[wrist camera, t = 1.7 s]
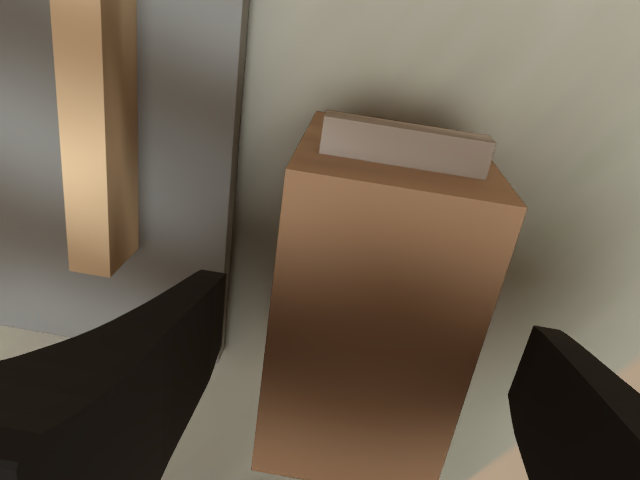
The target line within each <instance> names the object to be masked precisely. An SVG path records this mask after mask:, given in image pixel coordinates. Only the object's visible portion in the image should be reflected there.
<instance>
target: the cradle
mask: <svg viewBox="0 0 640 480" xmlns="http://www.w3.org/2000/svg"><path fill="white" fill-rule="evenodd" d="M248 13H249V0H0V325H2V326H7V327H13V328H19V329H25V330H31V331H36V332H42V333H48V334H54V335H60V336H65V337H71V338H73V337H75V336H78V335H80V334H82V333H85V332H87V331H90V330H92V329H94V328H97V327H99V326H101V325H103V324H105V323H108V322H110V321H112V320H114V319H116V318H118V317H119V316H121V315H123V314H125V313H127V312H129V311H131V310H133V309H135V308H137V307H138V306H140V305H142V304H144V303H146V302H148V301H149V300H151V299H153V298H154V297H156V296H158V295H159V294H161V293H163V292H165V291H166V290H168V289H170V288H171V287H173V286H174V285H176V284H178V283H179V282H181V281H182V280H184V279H186V278H187V277H189V276H191V275H192V274H194V273H195V272H197V271H199V270H201V269H203V270H209V271H215V272H221V273H226V274H227V276H226V290H225V304H224V319H223V333H222V345H221V348H220V351H219V354H218V357H217V360H216V363H218V361H219V359H220V357H221V354H222V352H223V350H224V339H225V326H226V312H227V298H228V285H229V271H230V258H231V244H232V230H233V217H234V203H235V190H236V176H237V162H238V149H239V135H240V122H241V108H242V94H243V81H244V67H245V54H246V40H247V26H248Z"/></svg>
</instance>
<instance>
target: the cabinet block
mask: <svg viewBox="0 0 640 480" xmlns="http://www.w3.org/2000/svg"><path fill="white" fill-rule="evenodd" d="M495 146H496V143H495V141H494V140H493V139H492V138H491V137H490V136H488V135H482V134H476V133H469V132H463V131H457V130H450V129H444V128H438V127H431V126H425V125H419V124H412V123H406V122H400V121H393V120H387V119H381V118H375V117H368V116H362V115H356V114H349V113H343V112H337V111H330V110H327V111H326V113H325V112H319V111H316V113H315V115H314V117H313V119H312V121H311V122H310V124H309V126H308V128H307V130H306V132H305V134H304V136H303V137H302V139H301V141H300V143H299V145H298V147H297V149H296V150H295V152H294V154H293V156H292V158H291V160H290V162H289V164H288V165H287V167H286V170H285V179H284V188H283V197H282V205H281V214H280V223H279V232H278V240H277V249H276V258H275V267H274V275H273V284H272V293H271V301H270V310H269V319H268V328H267V336H266V345H265V354H264V363H263V371H262V380H261V389H260V398H259V406H258V415H257V424H256V432H255V441H254V450H253V459H252V467H251V470H253V471H259V472H264V473H270V474H275V475H281V476H287V477H292V478H298V479H303V480H439V477H440V474H441V471H442V468H443V465H444V462H445V459H446V456H447V453H448V449H449V446H450V443H451V440H452V437H453V434H454V431H455V428H456V425H457V422H458V419H459V416H460V413H461V410H462V407H463V404H464V401H465V397H466V394H467V391H468V388H469V385H470V382H471V379H472V376H473V373H474V370H475V367H476V364H477V361H478V358H479V355H480V352H481V349H482V345H483V342H484V339H485V336H486V333H487V330H488V327H489V324H490V321H491V318H492V315H493V312H494V309H495V306H496V303H497V300H498V297H499V294H500V290H501V287H502V284H503V281H504V278H505V275H506V272H507V269H508V266H509V263H510V260H511V257H512V254H513V251H514V248H515V245H516V242H517V238H518V235H519V232H520V229H521V226H522V223H523V220H524V217H525V214H526V211H527V207H526V205H525V204H524V203H523V201H522V200H521V199H520V197H519V196H518V195H517V193H516V192H515V191H514V189H513V188H512V187H511V185H510V184H509V183H508V181H507V180H506V179H505V177H504V176H503V175H502V173H501V172H500V171H499V170H498V168H497V167H496V166H495V164H494V163H493V162H492V157H493V153H494V150H495Z"/></svg>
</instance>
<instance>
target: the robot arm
mask: <svg viewBox="0 0 640 480" xmlns="http://www.w3.org/2000/svg"><path fill="white" fill-rule="evenodd" d="M226 276H227V274H226V273H221V272H215V271H209V270H203V269H201V270H199V271H197V272H195V273H194V274H192V275H191V276H189V277H187V278H186V279H184V280H182V281H181V282H179V283H178V284H176V285H174V286H173V287H171V288H170V289H168V290H166V291H165V292H163V293H161V294H159V295H158V296H156V297H154V298H153V299H151V300H149V301H148V302H146V303H144V304H142V305H140V306H138V307H137V308H135V309H133V310H131V311H129V312H127V313H125V314H123V315H121V316H119V317H118V318H116V319H114V320H112V321H110V322H108V323H105V324H103V325H101V326H99V327H97V328H94V329H92V330H90V331H87V332H85V333H82V334H80V335H78V336H75V337H73V338H70V339H67V340H65V341H62V342H59V343H56V344H53V345H50V346H47V347H44V348H41V349H38V350H35V351H32V352H29V353H26V354H23V355H20V356H16V357H13V358H9V359H5V360H1V361H0V480H161V478H162V475H163V473H164V471H165V469H166V467H167V464H168V462H169V460H170V458H171V456H172V454H173V452H174V450H175V448H176V446H177V444H178V442H179V440H180V438H181V436H182V434H183V432H184V430H185V428H186V426H187V424H188V422H189V420H190V418H191V416H192V414H193V412H194V410H195V408H196V406H197V404H198V402H199V400H200V398H201V396H202V394H203V392H204V390H205V388H206V386H207V384H208V382H209V380H210V377H211V374H212V372H213V369H214V366H215V363H216V360H217V357H218V354H219V351H220V348H221V345H222V333H223V319H224V304H225V290H226ZM508 399H509V405H510V412H511V418H512V423H513V429H514V434H515V437H516V441H517V444H518V447H519V450H520V453H521V457H522V459H523V463H524V466H525V469H526V472H527V475H528V478H529V480H640V393H638V392H637V391H636V390H635V389H633V388H632V387H631V386H630V385H628V384H627V383H626V382H624V381H623V380H622V379H621V378H620V377H619V376H617V375H616V374H615V373H614V372H613V371H611V370H610V369H609V368H608V367H607V366H605V365H604V364H603V363H602V362H601V361H599V360H598V359H597V358H596V357H595V356H593V355H592V354H591V353H590V352H589V351H587V350H586V349H585V348H584V347H582V346H581V345H580V344H579V343H577V342H576V341H575V340H574V339H572V338H571V337H570V336H568V335H567V334H565V333H564V332H562V331H561V330H557V329H551V328H545V327H539V326H533V328H532V331H531V334H530V337H529V339H528V342H527V345H526V347H525V350H524V353H523V355H522V358H521V361H520V363H519V366H518V369H517V371H516V374H515V377H514V379H513V382H512V385H511V387H510V390H509V393H508Z"/></svg>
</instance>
